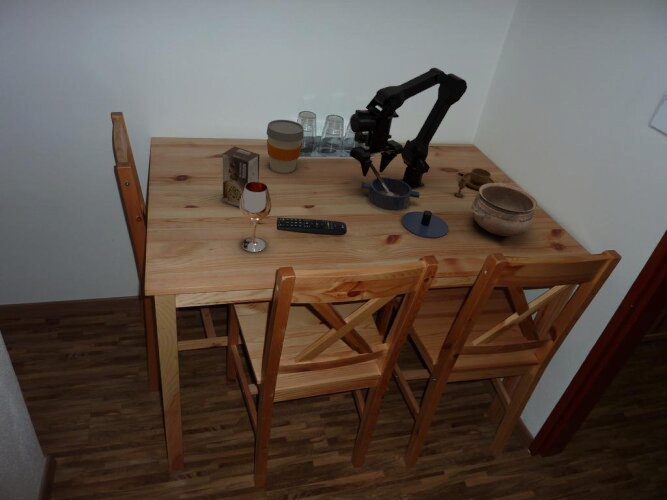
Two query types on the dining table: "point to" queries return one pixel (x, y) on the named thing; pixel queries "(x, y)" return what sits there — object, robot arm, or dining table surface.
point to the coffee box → (238, 173)
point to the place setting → (474, 180)
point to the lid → (425, 224)
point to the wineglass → (255, 211)
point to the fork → (380, 180)
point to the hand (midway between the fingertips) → (372, 174)
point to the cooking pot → (503, 209)
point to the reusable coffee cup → (284, 144)
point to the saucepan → (386, 200)
